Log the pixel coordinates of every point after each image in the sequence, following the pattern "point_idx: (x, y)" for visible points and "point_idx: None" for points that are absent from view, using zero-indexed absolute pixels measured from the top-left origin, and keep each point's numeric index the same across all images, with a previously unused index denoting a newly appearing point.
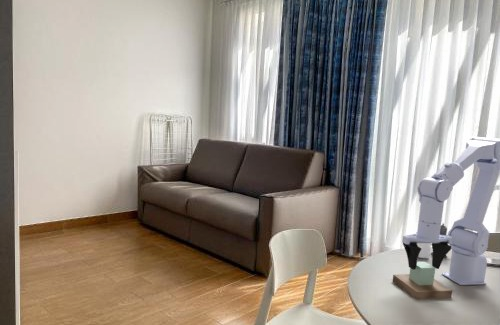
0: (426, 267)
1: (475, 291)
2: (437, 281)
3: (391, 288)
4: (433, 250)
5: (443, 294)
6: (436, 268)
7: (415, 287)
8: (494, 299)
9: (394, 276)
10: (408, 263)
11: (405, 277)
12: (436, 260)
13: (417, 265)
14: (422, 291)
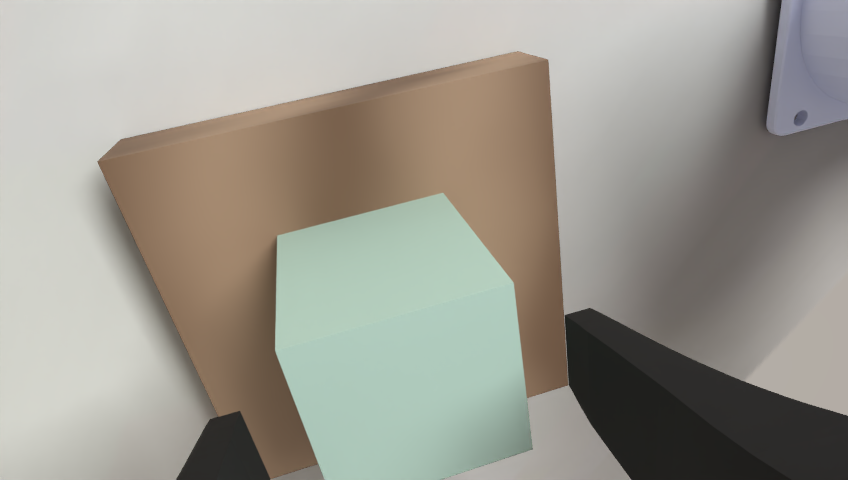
0: (420, 473)
1: (791, 216)
2: (552, 246)
3: (71, 311)
4: (723, 455)
5: None
6: (569, 378)
7: (268, 414)
8: (807, 309)
9: (112, 182)
10: (192, 452)
11: (242, 216)
12: (626, 426)
13: (323, 447)
14: (302, 466)
